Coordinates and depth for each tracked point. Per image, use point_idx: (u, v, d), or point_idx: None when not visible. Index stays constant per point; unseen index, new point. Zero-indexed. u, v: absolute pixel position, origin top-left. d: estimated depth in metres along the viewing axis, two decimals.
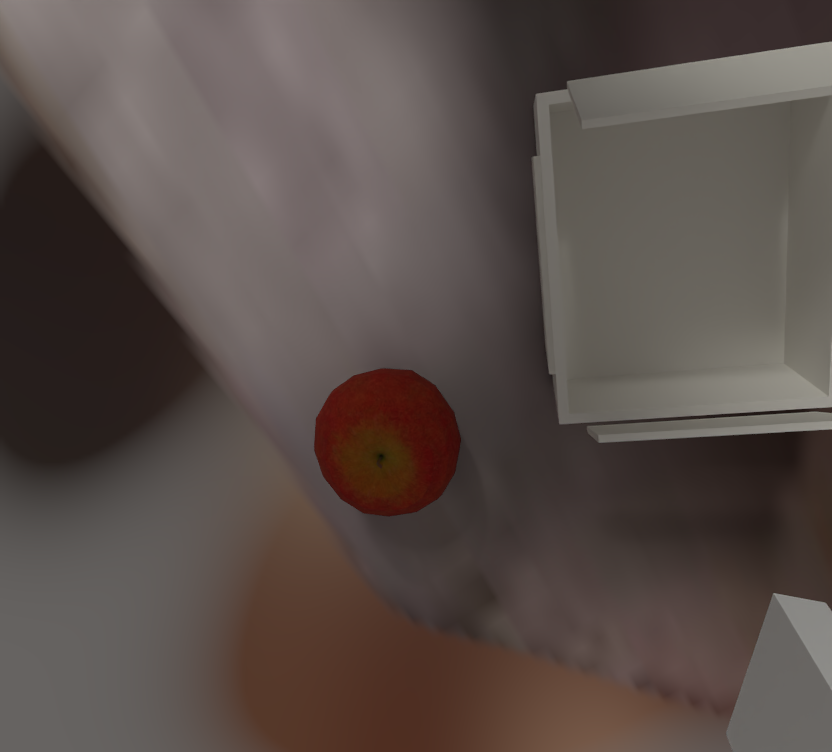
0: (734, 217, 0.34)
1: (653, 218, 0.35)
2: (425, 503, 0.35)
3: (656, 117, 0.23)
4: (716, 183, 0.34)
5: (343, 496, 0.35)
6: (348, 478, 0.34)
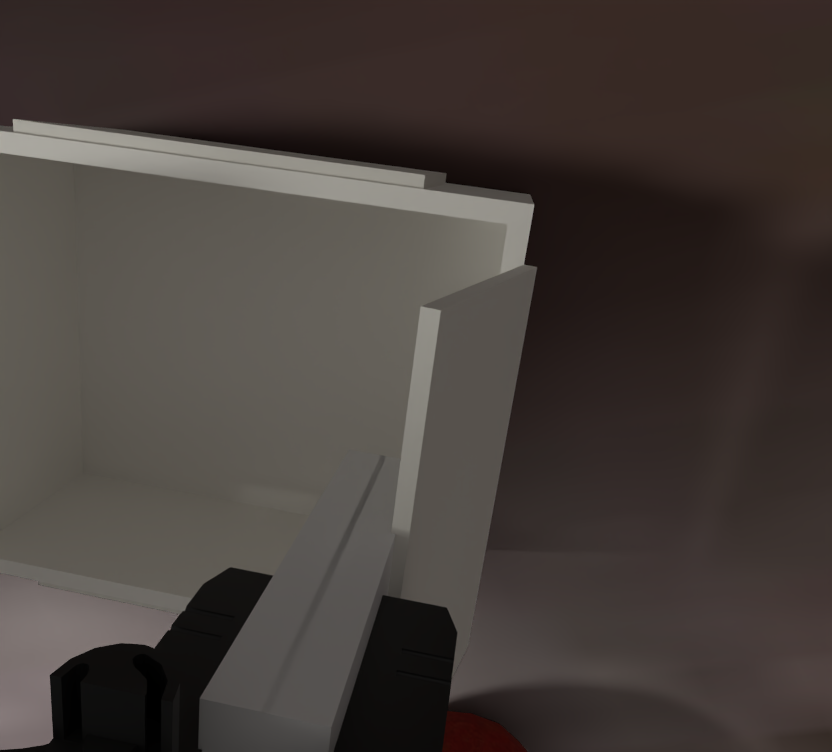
0: (253, 254, 0.22)
1: (236, 368, 0.23)
2: None
3: None
4: (201, 273, 0.22)
5: None
6: None
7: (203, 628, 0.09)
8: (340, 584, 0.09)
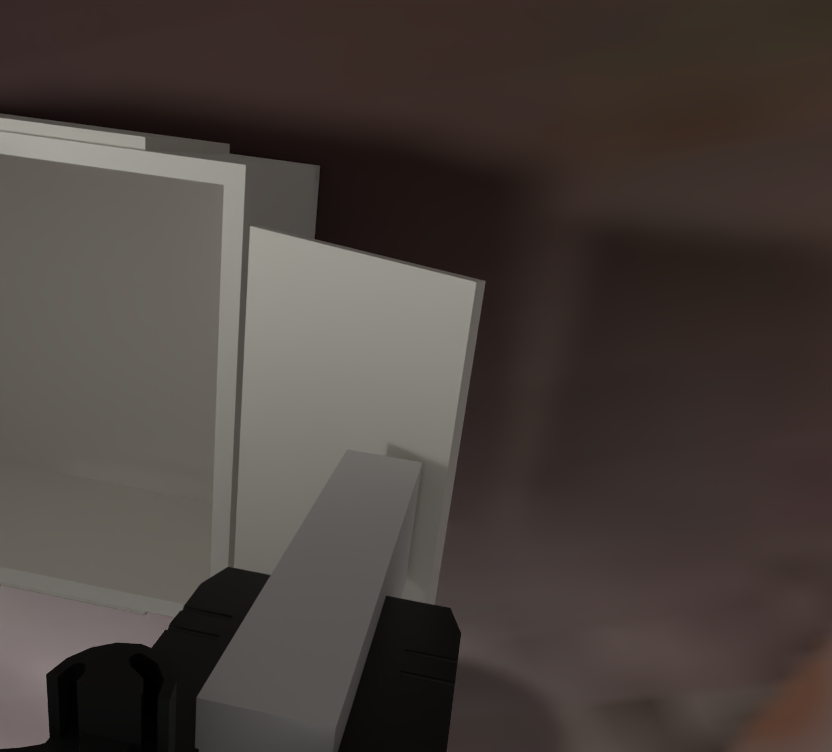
0: (60, 227, 0.22)
1: (53, 340, 0.23)
2: None
3: None
4: (12, 246, 0.23)
5: None
6: None
7: (200, 627, 0.09)
8: (338, 583, 0.09)
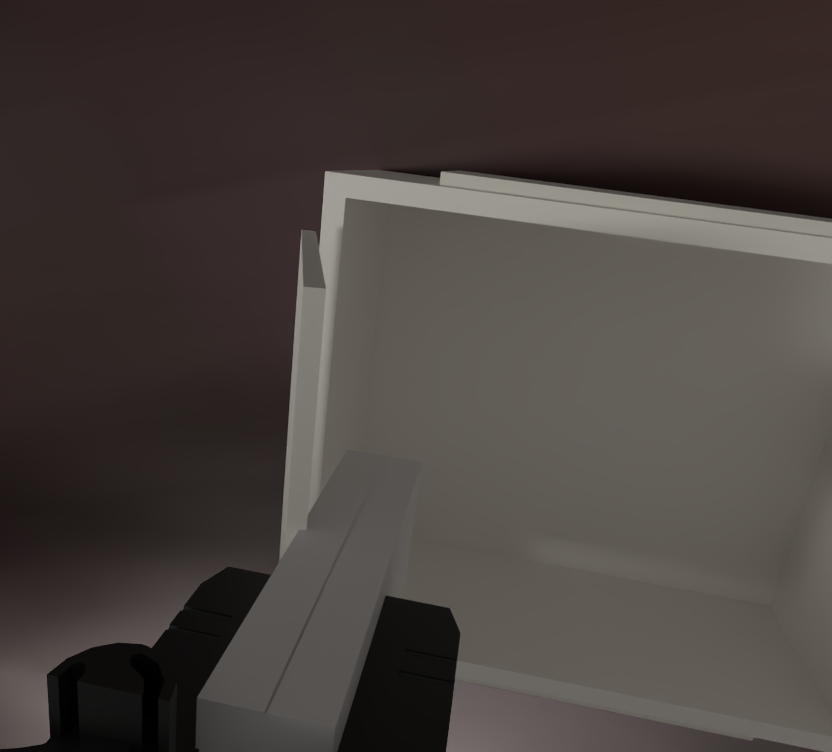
0: (581, 302, 0.20)
1: (545, 420, 0.22)
2: None
3: None
4: (518, 321, 0.21)
5: None
6: None
7: (201, 628, 0.09)
8: (338, 584, 0.09)
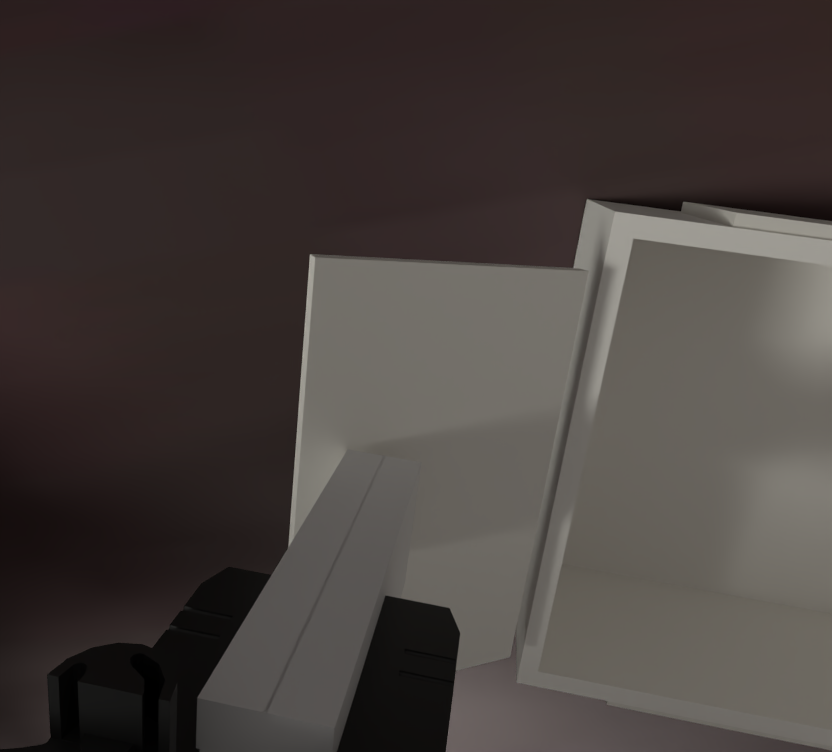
0: (794, 333, 0.20)
1: (744, 452, 0.21)
2: None
3: None
4: (726, 352, 0.20)
5: None
6: None
7: (201, 628, 0.09)
8: (338, 584, 0.09)
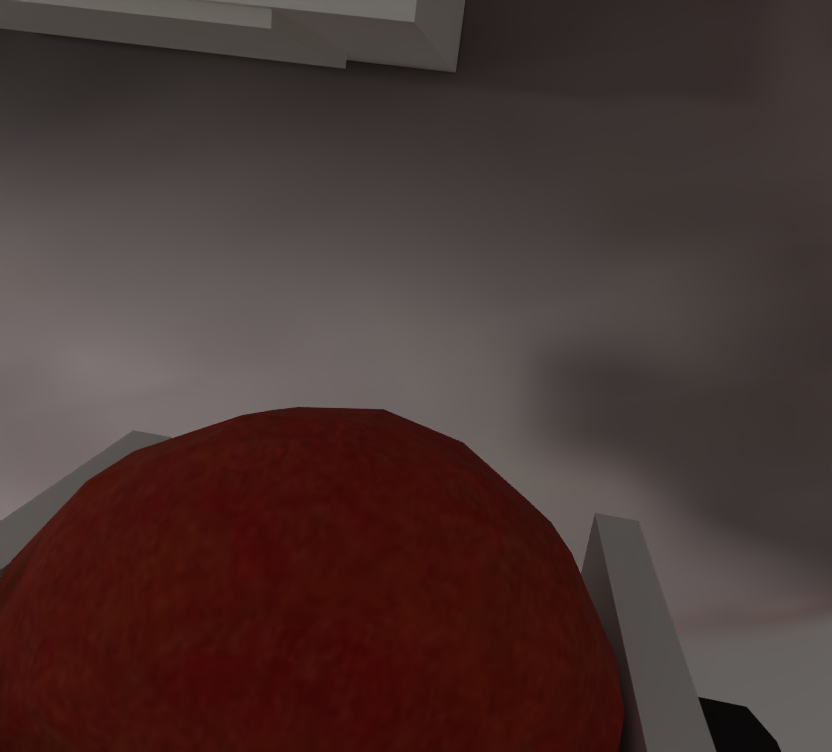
0: None
1: None
2: None
3: None
4: None
5: None
6: None
7: None
8: None
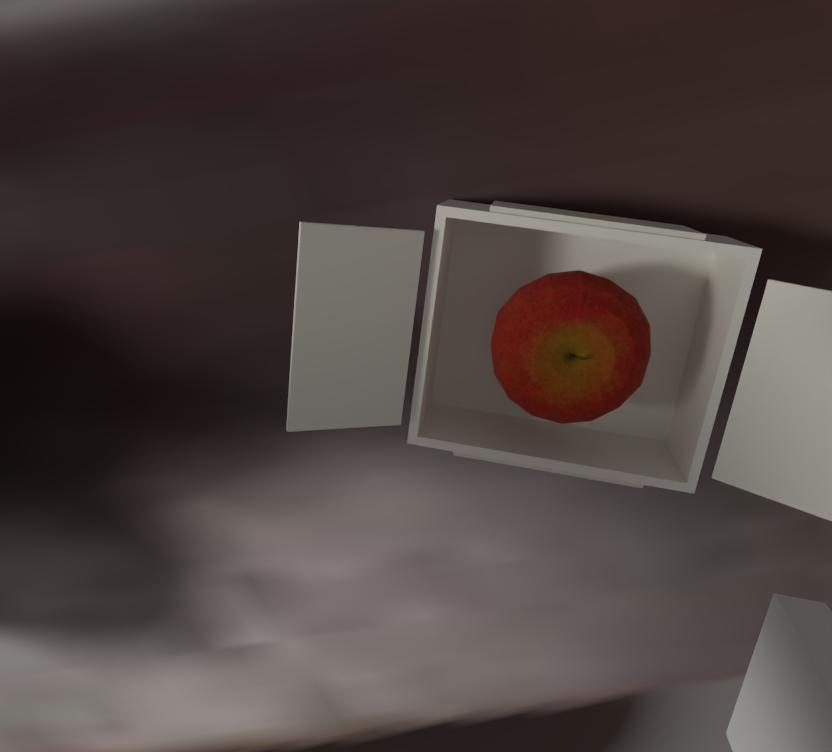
0: (559, 270, 0.38)
1: None
2: (634, 317, 0.32)
3: (294, 384, 0.32)
4: (525, 281, 0.38)
5: (610, 403, 0.33)
6: (586, 394, 0.32)
7: None
8: None
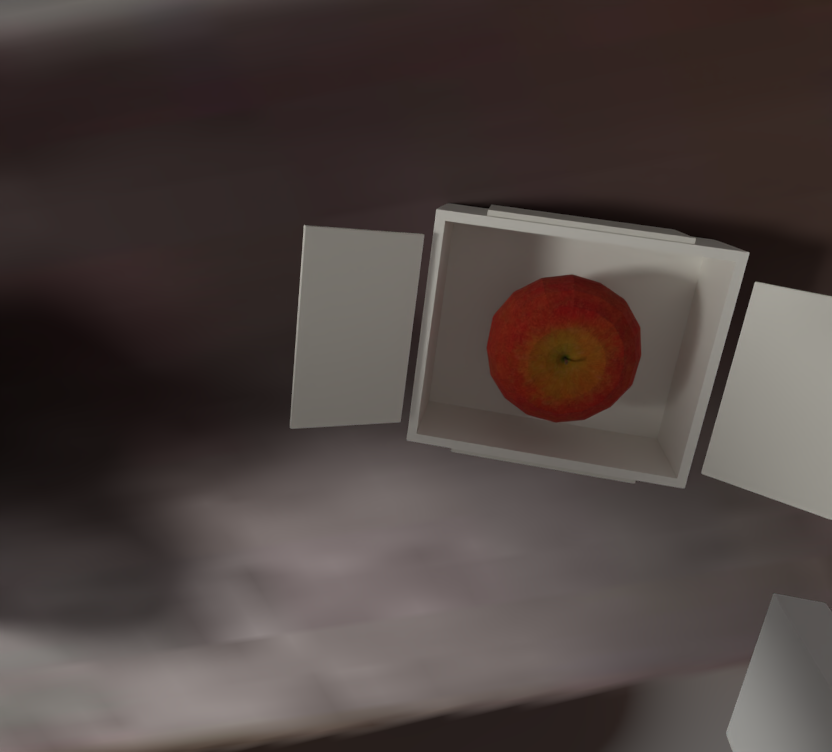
0: (554, 272, 0.39)
1: None
2: (624, 321, 0.33)
3: (298, 382, 0.33)
4: (521, 282, 0.39)
5: (602, 403, 0.34)
6: (579, 395, 0.33)
7: None
8: None
